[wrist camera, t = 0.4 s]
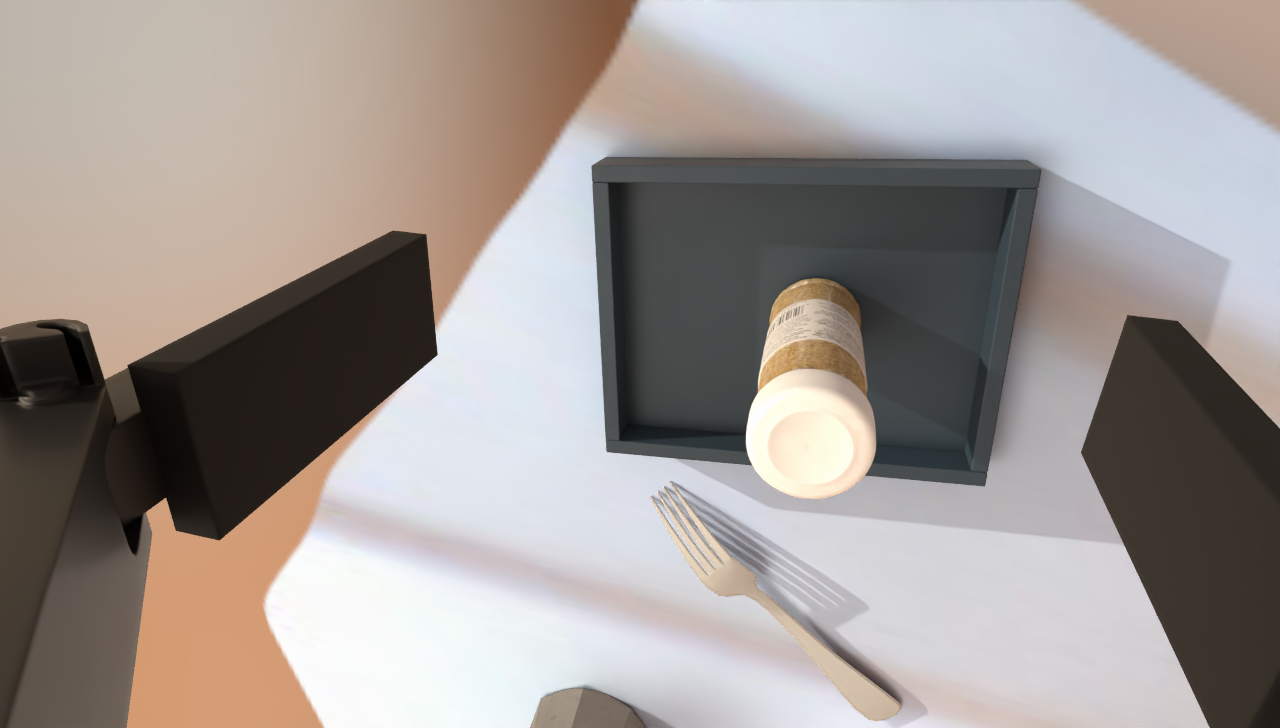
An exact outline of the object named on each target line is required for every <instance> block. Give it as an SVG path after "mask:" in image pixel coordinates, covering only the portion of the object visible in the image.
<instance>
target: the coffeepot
mask: <svg viewBox="0 0 1280 728" xmlns="http://www.w3.org/2000/svg"><path fill="white" fill-rule="evenodd" d="M530 728H645V726H644V724H643V723H642V721H641V720H640V719H639V717H638V716H637V715H636V714H635V713H634V712H633V711H632V710H631V708H629V707H628V706H626V705H625V704H623V703H622V702H620V701H619V700H617V699H615V698H613V697H611V696H609V695H607V694H604V693H601V692H598V691H593V690H588V689H583V688H574V689H566V690H561V691H558V692H555V693H553V694H552V695H550V696H547V697H543V698H541V700H540V702H539V705H538V708H537V711H536V713H535V716H534V719H533V722H532V724H531V727H530Z"/></svg>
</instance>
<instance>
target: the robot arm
mask: <svg viewBox="0 0 1280 728" xmlns="http://www.w3.org/2000/svg"><path fill="white" fill-rule="evenodd" d="M436 356H437V344H436V333H435V323H434V312H433V301H432V291H431V280H430V269H429V259H428V248H427V238H426V234H418V233H409V232H400V231H392V232H389V233H387V234H385V235H383V236H381V237H379V238H378V239H375V240H373V241H372V242H369V243H367V244H366V245H364V246H362V247H360V248H358V249H356V250H354V251H352V252H350V253H348V254H346V255H344V256H342V257H340V258H338V259H336V260H334V261H332V262H330V263H328V264H326V265H324V266H322V267H320V268H318V269H316V270H314V271H312V272H310V273H308V274H306V275H304V276H303V277H301V278H299V279H297V280H295V281H293V282H291V283H289V284H287V285H285V286H283V287H281V288H279V289H277V290H275V291H273V292H271V293H269V294H267V295H265V296H263V297H261V298H259V299H257V300H255V301H253V302H251V303H249V304H247V305H245V306H243V307H242V308H239V309H237V310H235V311H233V312H232V313H230V314H228V315H226V316H224V317H222V318H220V319H218V320H216V321H214V322H212V323H210V324H208V325H206V326H204V327H202V328H200V329H198V330H196V331H194V332H192V333H190V334H188V335H186V336H184V337H182V338H180V339H178V340H177V341H174V342H172V343H171V344H168V345H167V346H165V347H163V348H161V349H159V350H157V351H155V352H153V353H151V354H149V355H147V356H145V357H143V358H141V359H139V360H137V361H135V362H133V363H131V364H129V365H128V368H127V369H125V370H123V371H121V372H119V373H117V374H115V375H113V376H111V377H109V378H107V379H105V380H104V377H103V373H102V370H101V367H100V364H99V361H98V357H97V354H96V351H95V348H94V345H93V341H92V338H91V335H90V332H89V329H88V326H87V324H84V323H82V322H80V321H77V320H66V319H53V320H39V321H33V322H27V323H21V324H16V325H13V326H9V327H5V328H2V329H0V728H126V727H127V720H128V712H129V704H130V697H131V689H132V682H133V674H134V667H135V659H136V652H137V643H138V636H139V629H140V621H141V613H142V606H143V598H144V590H145V582H146V576H147V568H148V561H149V553H150V546H151V538H152V531H151V528H150V524H149V521H148V518H147V515H146V511H148V510H149V509H151V508H152V507H153V506H155V505H156V504H158V503H159V502H160V501H162V500H163V499H164V498H167V502H168V505H169V508H170V512H171V515H172V519H173V522H174V526H175V529H176V531H180V532H185V533H189V534H193V535H198V536H202V537H207V538H211V539H216V540H221V539H222V538H223V537H224V536H225V535H226V534H227V533H229V532H230V531H231V530H232V529H234V528H235V527H236V526H237V525H238V524H239V523H241V522H242V521H243V520H244V519H245V518H246V517H248V516H249V515H250V514H251V513H252V512H253V511H255V510H256V509H257V508H258V507H259V506H260V505H262V504H263V503H264V502H265V501H266V500H268V499H269V498H270V497H271V496H272V495H273V494H274V493H276V492H277V491H278V490H279V489H281V488H282V487H283V486H284V485H285V484H286V483H288V482H289V481H290V480H291V479H292V478H293V477H295V476H296V475H297V474H298V473H299V472H300V471H301V470H303V469H304V468H305V467H306V466H307V465H309V464H310V463H311V462H312V461H313V460H315V459H316V458H317V457H318V456H319V455H320V454H322V453H323V452H324V451H325V450H326V449H328V448H329V447H330V446H331V445H332V444H333V443H334V442H336V441H337V440H338V439H339V438H340V437H341V436H343V435H344V434H345V433H346V432H347V431H349V430H350V429H351V428H352V427H353V426H354V425H356V424H357V423H358V422H359V421H360V420H362V419H363V418H364V417H365V416H366V415H367V414H369V412H371V411H372V410H373V409H375V408H376V407H377V406H378V405H379V404H380V403H382V402H383V401H384V400H385V399H386V398H387V397H389V396H390V395H391V394H392V393H393V392H394V391H396V390H397V389H398V388H399V387H400V386H402V385H403V384H404V383H405V382H406V381H407V380H409V379H410V378H411V377H412V376H413V375H414V374H416V373H417V372H418V371H419V370H420V369H421V368H423V367H424V366H425V365H426V364H427V363H429V362H430V361H431V360H432V359H433V358H434V357H436ZM1081 453H1082V456H1083V458H1084V460H1085V462H1086V464H1087V466H1088V468H1089V471H1090V473H1091V475H1092V477H1093V479H1094V481H1095V483H1096V485H1097V488H1098V490H1099V492H1100V494H1101V496H1102V498H1103V500H1104V503H1105V505H1106V507H1107V509H1108V511H1109V513H1110V515H1111V518H1112V520H1113V522H1114V524H1115V526H1116V528H1117V530H1118V532H1119V535H1120V537H1121V539H1122V541H1123V543H1124V545H1125V547H1126V550H1127V552H1128V554H1129V556H1130V558H1131V560H1132V562H1133V565H1134V567H1135V569H1136V571H1137V573H1138V575H1139V577H1140V579H1141V582H1142V584H1143V586H1144V588H1145V590H1146V592H1147V594H1148V597H1149V599H1150V601H1151V603H1152V605H1153V607H1154V609H1155V612H1156V614H1157V616H1158V618H1159V620H1160V622H1161V624H1162V626H1163V629H1164V631H1165V633H1166V635H1167V637H1168V639H1169V641H1170V644H1171V646H1172V648H1173V650H1174V652H1175V654H1176V656H1177V659H1178V661H1179V663H1180V665H1181V667H1182V669H1183V671H1184V673H1185V676H1186V678H1187V680H1188V682H1189V684H1190V686H1191V688H1192V691H1193V693H1194V695H1195V697H1196V699H1197V701H1198V703H1199V705H1200V708H1201V710H1202V712H1203V714H1204V716H1205V718H1206V720H1207V723H1208V725H1209V727H1210V728H1280V428H1279V427H1278V426H1277V425H1276V424H1275V423H1274V422H1273V421H1272V420H1271V419H1270V418H1269V417H1268V416H1267V415H1266V414H1265V413H1264V411H1263V410H1262V409H1261V408H1260V407H1259V406H1258V405H1257V404H1256V403H1255V402H1254V401H1253V400H1252V399H1251V398H1250V397H1249V396H1248V395H1247V394H1246V392H1245V391H1244V390H1243V389H1242V388H1241V387H1240V386H1239V385H1238V384H1237V383H1236V382H1235V381H1234V380H1233V379H1232V378H1231V377H1230V376H1229V375H1228V373H1227V372H1226V371H1225V370H1224V369H1223V368H1222V367H1221V366H1220V365H1219V364H1218V363H1217V362H1216V361H1215V360H1214V359H1213V358H1212V357H1211V356H1210V355H1209V353H1208V352H1207V351H1206V350H1205V349H1204V348H1203V347H1202V346H1201V345H1200V344H1199V343H1198V342H1197V341H1196V340H1195V339H1194V338H1193V337H1192V336H1191V334H1190V333H1189V332H1188V331H1187V330H1186V329H1185V328H1184V327H1183V326H1182V325H1181V324H1180V323H1179V322H1178V321H1173V320H1164V319H1155V318H1147V317H1138V316H1129V315H1127V318H1126V321H1125V324H1124V327H1123V330H1122V333H1121V336H1120V339H1119V342H1118V345H1117V348H1116V351H1115V354H1114V357H1113V360H1112V363H1111V366H1110V368H1109V371H1108V374H1107V377H1106V380H1105V383H1104V386H1103V389H1102V392H1101V395H1100V398H1099V401H1098V404H1097V407H1096V410H1095V413H1094V416H1093V419H1092V422H1091V425H1090V428H1089V431H1088V433H1087V436H1086V439H1085V442H1084V445H1083V448H1082V451H1081Z"/></svg>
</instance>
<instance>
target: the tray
mask: <svg viewBox="0 0 1280 728" xmlns="http://www.w3.org/2000/svg"><path fill="white" fill-rule="evenodd" d="M1040 175H1041V169H1040V168H1038V167H1037V166H1035V165H1034V164H1033V163H1031V162H1030V161H1028V160H951V159H797V158H644V157H605V158H604V159H602V160H600V161H599V162H597V163H595V164H594V165H592V181H593V202H594V222H595V241H596V260H597V280H598V299H599V318H600V337H601V357H602V376H603V395H604V414H605V434H606V449H607V452H612V453H623V454H634V455H645V456H656V457H667V458H678V459H689V460H700V461H711V462H722V463H733V464H744V465H752V463H751V461H750V459H749V456H748V453H747V447H746V431H747V424H748V418H749V412H750V409H751V406H752V403H753V401H754V399H755V397H756V396H757V394H758V379H759V373H760V368H761V362H762V357H763V352H764V347H765V342H766V337H767V333H768V330H769V327H770V315H771V310H772V306H773V304H774V303H775V301H776V299H777V298H778V296H779V295H780V294H781V293H782V291H784V290H786V289H787V288H788V287H789V286H790V285H792V284H795V283H796V282H798V281H800V280H805V279H812V278H819V279H827V280H831V281H835V282H837V283H838V284H840V285H841V286H843V287H845V288H846V289H847V290H848V291H849V292H850V293H851V294H852V296H853V297H854V299H855V301H856V302H857V304H858V305H859V309H860V317H861V326H860V331H861V335H862V342H863V350H864V359H865V369H866V378H867V393H866V395H867V399H868V401H869V403H870V405H871V407H872V410H873V415H874V420H875V428H876V452H875V456H874V460H873V462H872V465H871V467H870V468H869V470H868V472H867V473H866V476H877V477H888V478H899V479H910V480H921V481H932V482H943V483H954V484H965V485H976V486H985V483H986V477H987V471H988V466H989V461H990V455H991V449H992V444H993V438H994V433H995V427H996V421H997V416H998V410H999V404H1000V399H1001V393H1002V388H1003V382H1004V376H1005V371H1006V365H1007V360H1008V354H1009V348H1010V343H1011V337H1012V331H1013V326H1014V320H1015V315H1016V309H1017V303H1018V298H1019V292H1020V286H1021V281H1022V275H1023V270H1024V264H1025V258H1026V253H1027V247H1028V242H1029V236H1030V230H1031V225H1032V219H1033V213H1034V208H1035V202H1036V197H1037V191H1038V190H1037V188H1038V186H1039V181H1040Z"/></svg>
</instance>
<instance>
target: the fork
mask: <svg viewBox="0 0 1280 728" xmlns="http://www.w3.org/2000/svg"><path fill="white" fill-rule="evenodd" d="M670 485H671V486H672V488H673V489H674V491H675V493H676V494H677V496H678V497H679V499H680V500H681V502H682V504H683V505H684V507H685V508H686V510H687V512H688V513H689V515H690V516H691V518H692V519H693V521H694V522H695V524H696V525H697V527H698V528H699V530H700V531H701V533H702V534H703V536H704V537H705V539H706V540H707V542H708V543H709V544H710V546H711V547H712V548H713V549H714V551H715V552H716V553H717V555H718V556H719V557H720V558H721V560H722V561H723V562H724V564H723V563H722V562H721V561H720V559H719V558H718V557H717V556H716V555H715V554H714V552H713V551H712V550H711V549H710V548H709V547H708V545H707V544H706V543H705V542H704V540H703V539H702V537H701V536H700V535H699V533H698V532H697V531H696V529H695V528H694V527H693V525H692V524H691V523H690V521H689V520H688V519H687V517H686V516H685V514H684V513H683V512H682V510H681V509H680V508H679V506H678V505H677V503H676V502H675V501H674V499H673V498H672V497H671V495H670V494H669V492H668V491H667V490H666V488H665V487H663V490H664V491H665V493H666V494H667V496H668V498H669V499H670V501H671V503H672V504H673V506H674V508H675V509H676V511H677V513H678V514H679V516H680V518H681V519H682V521H683V522H684V524H685V525H686V527H687V528H688V530H689V531H690V533H691V534H692V536H693V537H694V539H695V540H696V542H697V543H698V545H699V546H700V548H701V549H702V550H703V552H704V553H705V554H706V555H707V557H708V558H709V559H710V561H711V562H712V563H713V565H714V566H715V567H716V569H715V568H714V567H713V566H712V565H711V563H710V562H709V561H708V560H707V559H706V557H705V556H704V555H703V554H702V552H701V551H700V550H699V549H698V547H697V546H696V544H695V543H694V542H693V540H692V539H691V537H690V536H689V534H688V533H687V532H686V530H685V529H684V527H683V526H682V525H681V523H680V522H679V520H678V519H677V517H676V516H675V515H674V513H673V512H672V510H671V509H670V507H669V506H668V504H667V503H666V502H665V500H664V499H663V497H662V496H661V494H660V493H659V492H657V494H658V496H659V498H660V499H661V501H662V503H663V504H664V506H665V508H666V510H667V511H668V513H669V515H670V517H671V518H672V520H673V522H674V524H675V525H676V527H677V528H678V530H679V531H680V533H681V535H682V536H683V538H684V539H685V541H686V542H687V544H688V545H689V547H690V549H691V550H692V552H693V553H694V555H695V556H696V557H697V559H698V560H699V561H700V563H701V564H702V566H703V567H704V568H705V570H706V571H707V572H708V574H707V573H706V572H705V571H704V569H703V568H702V567H701V566H700V564H699V563H698V562H697V561H696V559H695V558H694V557H693V556H692V554H691V553H690V551H689V550H688V549H687V547H686V546H685V544H684V543H683V542H682V540H681V539H680V537H679V536H678V535H677V533H676V532H675V530H674V529H673V527H672V526H671V525H670V523H669V522H668V520H667V519H666V517H665V515H664V514H663V512H662V511H661V509H660V508H659V506H658V505H657V503H656V502H655V500H654V499H653V497H652V496H651V497H650V498H651V500H652V502H653V504H654V506H655V508H656V510H657V512H658V513H659V515H660V517H661V519H662V521H663V523H664V525H665V527H666V528H667V530H668V532H669V533H670V535H671V537H672V538H673V540H674V542H675V543H676V545H677V547H678V548H679V550H680V552H681V553H682V555H683V557H684V558H685V560H686V561H687V563H688V564H689V565H690V567H691V568H692V570H693V571H694V572H695V574H696V575H697V577H698V578H699V580H700V581H701V582H702V583H703V584H704V585H705V586H706V587H707V588H708V589H710V590H711V591H713V592H714V593H716V594H718V595H719V596H727V597H728V596H735V595H745V596H747V597H749V598H751V599H753V600H755V601H756V602H758V603H759V604H760V605H761V606H762V607H763V608H765V609H766V610H767V611H768V612H769V613H770V614H771V615H772V616H773V617H774V618H775V619H776V620H777V621H778V622H779V623H780V624H781V625H782V626H783V627H784V628H785V629H786V630H787V631H788V632H789V633H790V634H791V635H792V636H793V637H794V638H795V639H796V640H797V642H798V643H799V644H800V645H801V646H802V647H803V648H804V650H805V651H806V652H807V653H808V654H809V655H810V656H811V658H812V659H813V660H814V661H815V662H816V663H817V665H818V666H819V667H820V668H821V669H822V671H823V672H824V673H825V674H826V676H827V677H828V678H829V679H830V681H831V682H832V683H833V684H834V686H835V687H836V688H837V689H838V690H839V692H840V693H841V694H842V695H843V696H844V697H845V698H846V700H847V701H848V702H849V703H850V704H851V705H852V706H853V708H855V709H856V710H857V711H859V712H860V713H861V714H862V715H864V716H865V717H866V718H868V719H869V720H873V721H881V720H886V719H888V718H890V717H892V716H894V715H896V714H897V713H898V712H899V710H900V708H901V706H900V703H899V702H898V701H896V700H895V699H894V698H893V697H891V696H890V695H889V694H888V693H886V692H885V691H884V690H882V689H881V688H880V687H878V686H877V685H876V684H874V683H873V682H872V681H871V680H869V679H868V678H867V677H865V676H864V675H863V674H861V673H860V672H859V671H857V670H856V669H855V668H853V667H852V666H851V665H850V664H848V663H847V662H846V661H844V660H843V659H842V658H840V657H839V656H838V655H836V654H835V653H834V652H833V651H832V650H830V649H829V648H828V647H827V646H826V645H824V644H823V643H822V642H821V641H820V640H818V639H817V638H816V637H815V636H814V635H813V634H811V633H810V632H809V631H808V630H807V629H806V628H805V627H804V626H802V625H801V624H800V623H799V622H798V621H797V620H796V619H795V618H794V617H793V616H791V615H790V614H789V613H788V612H787V611H786V610H785V609H783V608H782V607H781V606H780V605H779V604H778V603H777V602H775V601H774V600H773V599H772V598H771V597H769V596H768V595H767V594H766V593H764V592H763V591H761V590H760V589H759V588H757V586H756V583H755V582H756V576H755V574H754V573H753V572H751V571H750V570H748V569H747V568H746V567H744V566H743V565H742V564H741V563H739V562H738V561H737V560H736V559H734V558H733V557H732V556H731V555H730V554H729V553H728V552H727V551H726V550H725V549H724V547H723V546H722V545H721V544H720V543H719V542H718V541H717V539H716V538H715V537H714V536H713V535H712V533H711V532H710V531H709V530H708V528H707V527H706V526H705V524H704V523H703V522H702V521H701V519H700V518H699V517H698V516H697V514H696V513H695V512H694V511H693V509H692V508H691V507H690V505H689V504H688V503H687V502H686V500H685V499H684V498H683V496H682V495H681V494H680V493H679V491H678V490H677V489H676V487H675V486H674V485H673V484H672V482H670Z"/></svg>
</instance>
